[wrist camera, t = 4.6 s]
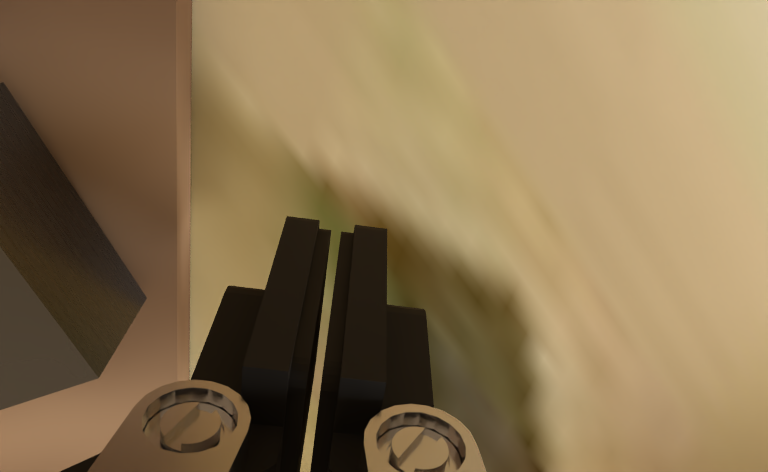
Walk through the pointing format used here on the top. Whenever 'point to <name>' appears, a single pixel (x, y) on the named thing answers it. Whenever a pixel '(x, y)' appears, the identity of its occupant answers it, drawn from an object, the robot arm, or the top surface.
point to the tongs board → (109, 193)
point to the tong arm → (52, 273)
